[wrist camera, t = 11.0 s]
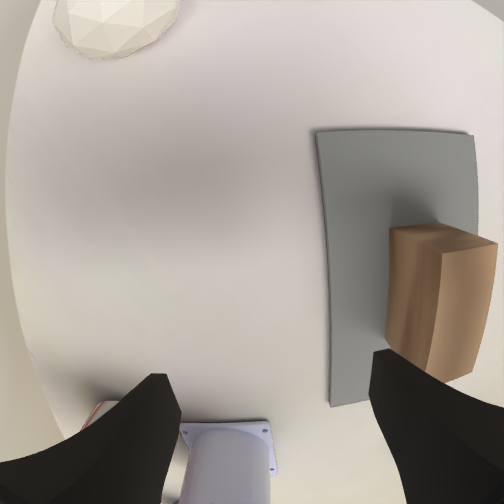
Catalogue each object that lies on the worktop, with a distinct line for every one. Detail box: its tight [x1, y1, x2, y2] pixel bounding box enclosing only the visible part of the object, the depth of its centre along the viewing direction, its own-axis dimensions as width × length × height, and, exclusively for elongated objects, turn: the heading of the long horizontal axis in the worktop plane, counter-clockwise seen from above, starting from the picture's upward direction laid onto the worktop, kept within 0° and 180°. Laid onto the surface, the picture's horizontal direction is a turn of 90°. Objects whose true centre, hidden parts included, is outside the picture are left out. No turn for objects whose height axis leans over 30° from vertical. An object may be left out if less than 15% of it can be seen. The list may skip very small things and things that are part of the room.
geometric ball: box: [52, 0, 182, 60], centre depth 10 cm, size 8×8×8 cm
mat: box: [315, 130, 478, 408], centre depth 18 cm, size 20×12×1 cm, turn 8°
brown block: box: [385, 222, 498, 383], centre depth 14 cm, size 4×8×6 cm, turn 8°
